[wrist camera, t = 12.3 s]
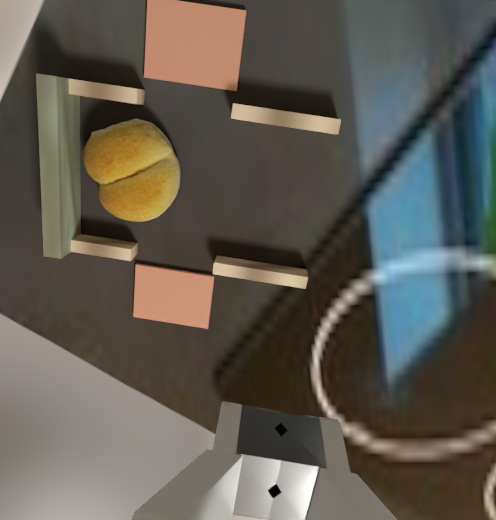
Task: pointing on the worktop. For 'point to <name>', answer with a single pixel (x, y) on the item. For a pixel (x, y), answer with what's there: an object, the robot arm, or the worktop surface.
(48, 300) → the worktop surface
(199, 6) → the trap pads
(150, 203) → the bread roll
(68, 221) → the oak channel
